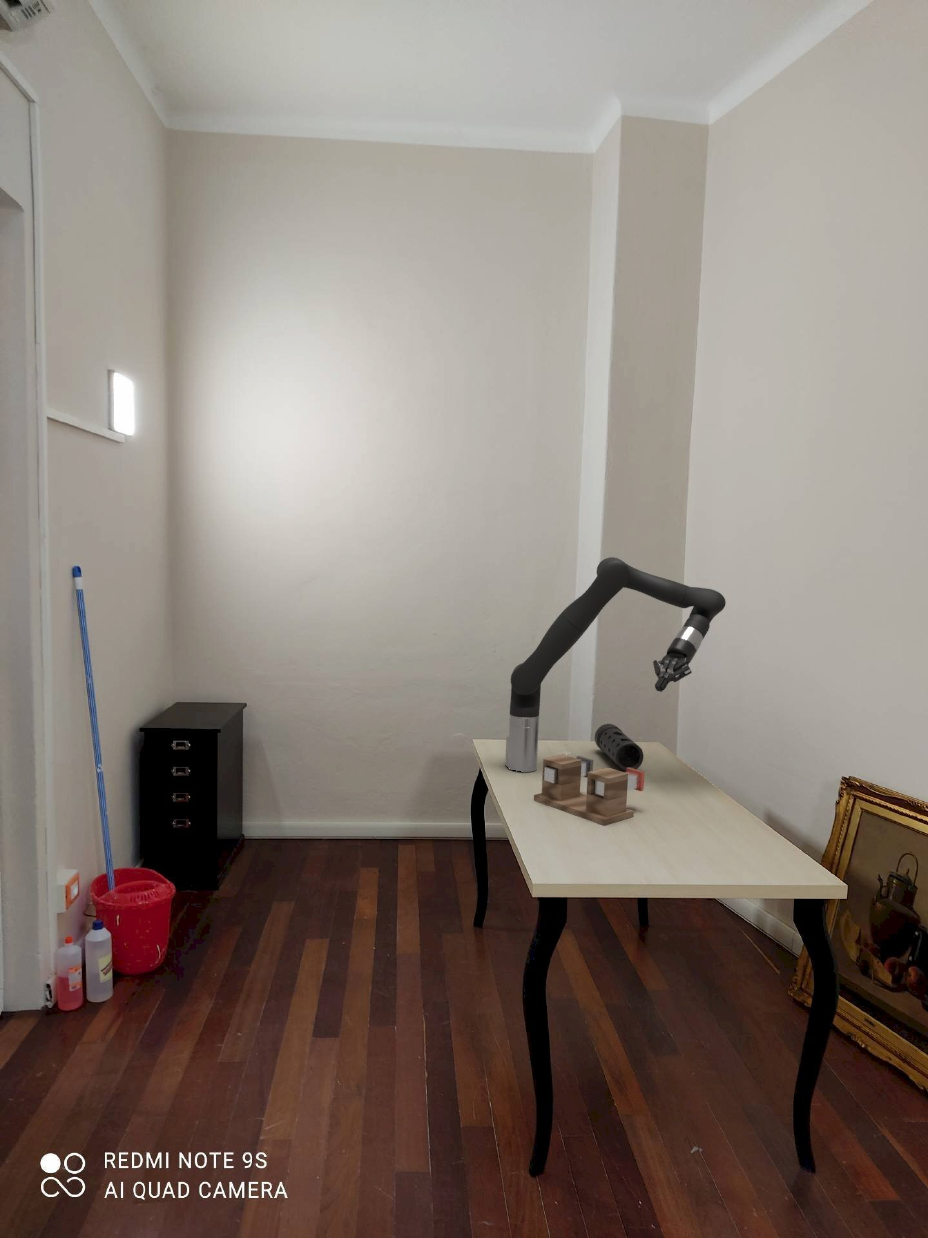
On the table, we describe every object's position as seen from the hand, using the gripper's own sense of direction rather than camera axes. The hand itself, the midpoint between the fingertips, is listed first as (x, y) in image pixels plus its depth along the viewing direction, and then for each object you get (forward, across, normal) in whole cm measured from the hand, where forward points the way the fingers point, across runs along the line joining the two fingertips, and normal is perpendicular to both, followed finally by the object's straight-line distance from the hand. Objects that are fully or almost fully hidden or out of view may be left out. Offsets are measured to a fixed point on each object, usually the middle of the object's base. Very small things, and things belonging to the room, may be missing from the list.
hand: (658, 689), depth 245 cm
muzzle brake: (+10, -26, +33) cm, 43 cm away
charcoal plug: (+37, -9, -2) cm, 38 cm away
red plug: (+35, +7, 0) cm, 36 cm away
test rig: (+42, -1, 0) cm, 42 cm away
